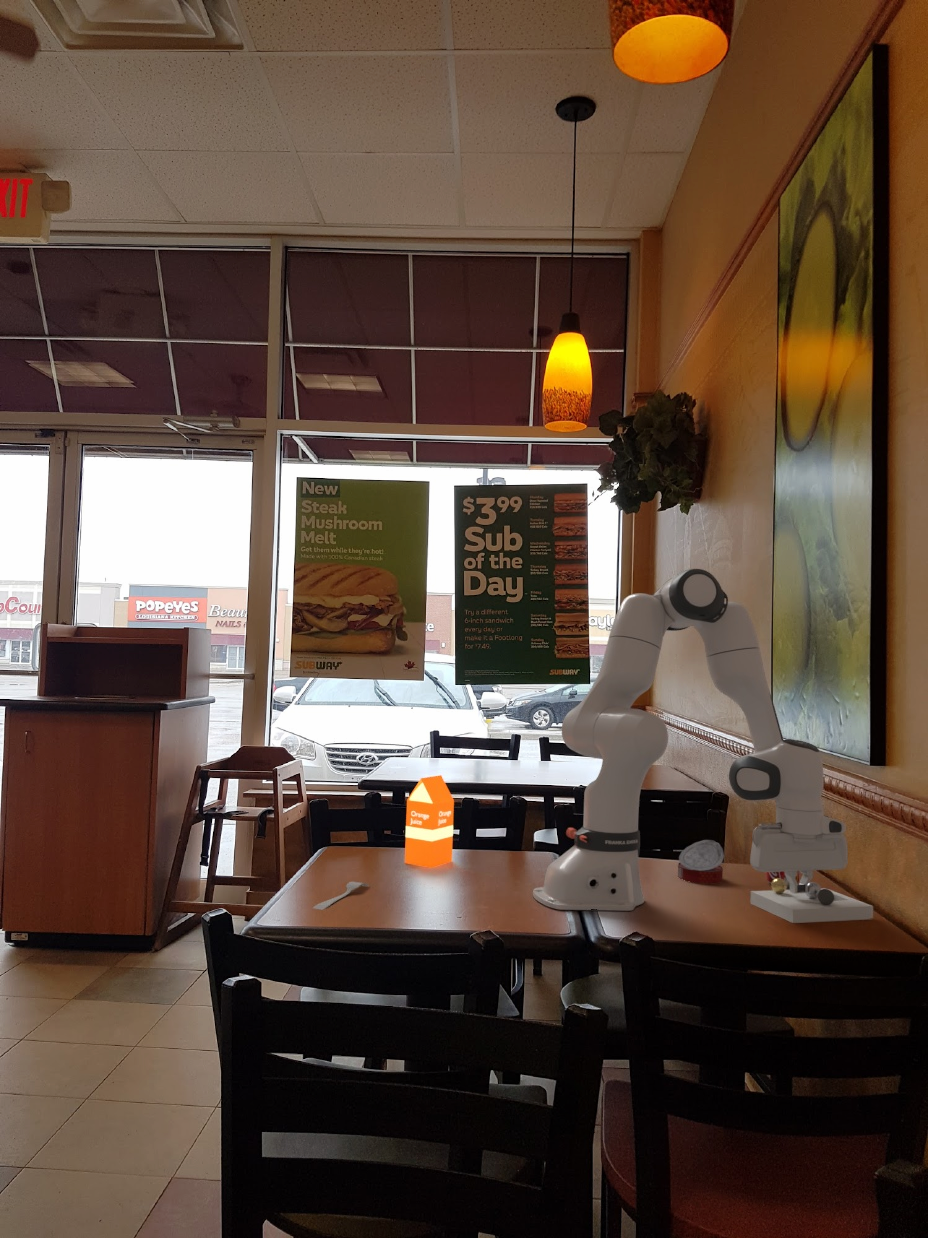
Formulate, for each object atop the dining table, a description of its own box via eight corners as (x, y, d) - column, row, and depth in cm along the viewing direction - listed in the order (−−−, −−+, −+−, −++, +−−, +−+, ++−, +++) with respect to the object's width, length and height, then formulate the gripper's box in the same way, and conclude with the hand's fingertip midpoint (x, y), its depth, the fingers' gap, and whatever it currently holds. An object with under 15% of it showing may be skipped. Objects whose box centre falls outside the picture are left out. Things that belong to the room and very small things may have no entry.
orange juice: (452, 861, 214) (455, 776, 215) (431, 868, 206) (434, 780, 208) (425, 857, 218) (428, 773, 219) (403, 863, 211) (406, 776, 212)
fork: (309, 923, 169) (309, 908, 169) (361, 886, 189) (361, 873, 189) (322, 925, 168) (322, 910, 168) (373, 888, 188) (373, 875, 188)
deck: (792, 923, 171) (793, 909, 171) (750, 903, 184) (750, 891, 184) (873, 919, 175) (873, 906, 176) (825, 900, 189) (826, 888, 189)
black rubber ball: (824, 907, 174) (824, 891, 174) (814, 903, 176) (814, 887, 177) (837, 906, 174) (837, 890, 174) (827, 902, 177) (827, 887, 177)
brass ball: (776, 895, 182) (777, 880, 182) (767, 891, 184) (768, 876, 185) (789, 895, 182) (789, 879, 182) (780, 891, 185) (780, 876, 185)
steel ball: (811, 884, 178) (825, 884, 179) (801, 880, 181) (814, 880, 182) (810, 900, 178) (824, 900, 179) (800, 896, 181) (814, 896, 182)
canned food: (723, 902, 203) (739, 867, 199) (682, 898, 201) (697, 863, 197) (704, 868, 213) (718, 834, 210) (665, 864, 211) (679, 830, 207)
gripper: (762, 826, 174) (761, 899, 173) (853, 824, 179) (852, 895, 179) (744, 820, 180) (743, 890, 180) (832, 818, 186) (831, 887, 185)
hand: (798, 892), depth 179 cm, fingers closed
